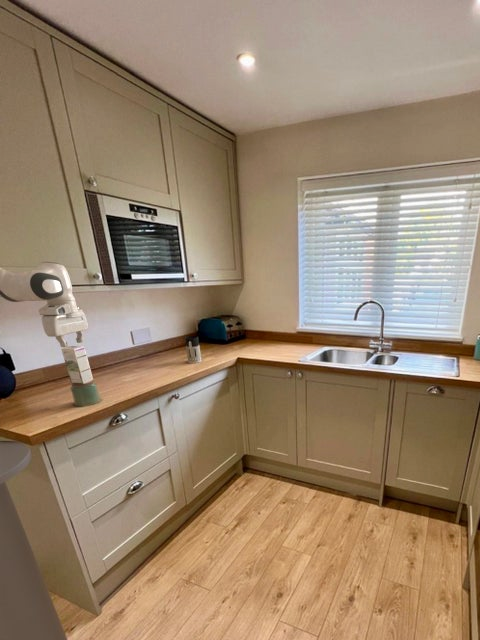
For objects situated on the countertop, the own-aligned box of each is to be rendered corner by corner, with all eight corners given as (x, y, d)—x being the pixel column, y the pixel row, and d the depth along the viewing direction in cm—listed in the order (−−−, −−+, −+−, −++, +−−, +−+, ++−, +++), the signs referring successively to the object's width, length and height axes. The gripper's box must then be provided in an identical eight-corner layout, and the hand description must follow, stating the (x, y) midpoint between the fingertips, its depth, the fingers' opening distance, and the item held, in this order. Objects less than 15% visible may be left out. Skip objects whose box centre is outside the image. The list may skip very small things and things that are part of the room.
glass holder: (203, 359, 209) (200, 335, 204) (199, 365, 196) (196, 339, 191) (188, 360, 208) (185, 336, 202) (184, 365, 195) (180, 340, 189)
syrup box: (94, 379, 138) (85, 345, 133) (83, 384, 132) (73, 348, 127) (81, 379, 139) (72, 345, 133) (70, 383, 133) (60, 348, 128)
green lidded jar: (92, 406, 135) (86, 385, 131) (70, 406, 134) (64, 385, 131) (104, 398, 143) (99, 378, 140) (83, 398, 143) (78, 378, 140)
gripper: (72, 306, 135) (81, 340, 140) (34, 310, 116) (45, 349, 121) (88, 306, 135) (96, 340, 140) (52, 310, 116) (63, 349, 121)
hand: (72, 344), depth 130 cm, fingers open, 8 cm apart
